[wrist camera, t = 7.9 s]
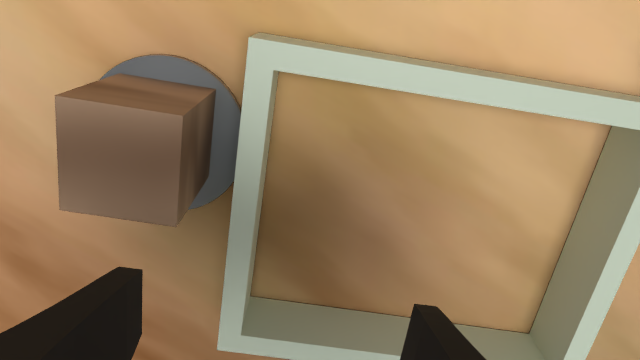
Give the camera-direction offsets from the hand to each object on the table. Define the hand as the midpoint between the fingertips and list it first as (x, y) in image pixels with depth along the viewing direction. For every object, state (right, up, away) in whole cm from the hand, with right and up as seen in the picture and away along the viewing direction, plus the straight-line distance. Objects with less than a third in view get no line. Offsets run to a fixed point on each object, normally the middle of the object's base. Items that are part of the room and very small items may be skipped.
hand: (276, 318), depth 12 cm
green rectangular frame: (+6, +2, +10) cm, 12 cm away
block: (-6, +6, +8) cm, 11 cm away
